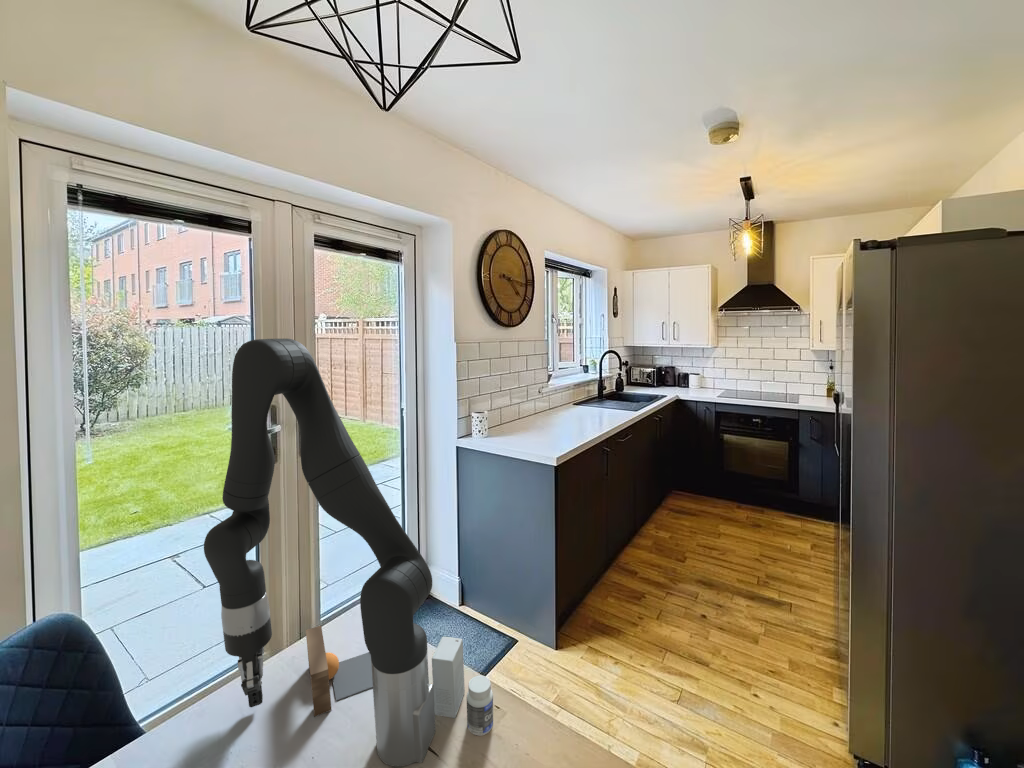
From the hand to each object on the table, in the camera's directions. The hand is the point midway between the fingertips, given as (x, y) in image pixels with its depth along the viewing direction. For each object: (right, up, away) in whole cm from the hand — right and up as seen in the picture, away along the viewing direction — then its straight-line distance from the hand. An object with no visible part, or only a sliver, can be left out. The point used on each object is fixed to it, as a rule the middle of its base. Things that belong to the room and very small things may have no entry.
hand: (256, 702), depth 86 cm
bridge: (+10, -1, +5) cm, 11 cm away
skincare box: (+36, -1, +1) cm, 36 cm away
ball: (+10, +2, +7) cm, 13 cm away
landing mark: (+16, 0, +9) cm, 19 cm away
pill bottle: (+42, -2, -3) cm, 43 cm away
